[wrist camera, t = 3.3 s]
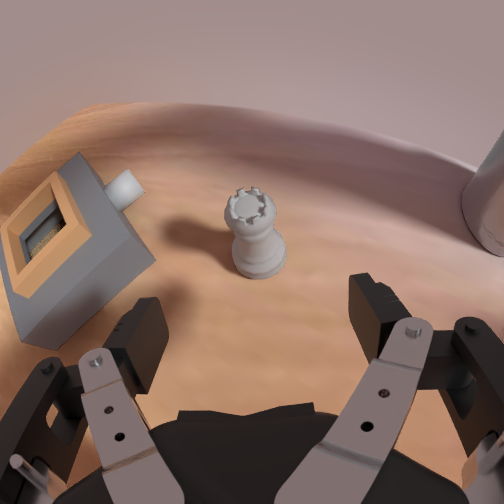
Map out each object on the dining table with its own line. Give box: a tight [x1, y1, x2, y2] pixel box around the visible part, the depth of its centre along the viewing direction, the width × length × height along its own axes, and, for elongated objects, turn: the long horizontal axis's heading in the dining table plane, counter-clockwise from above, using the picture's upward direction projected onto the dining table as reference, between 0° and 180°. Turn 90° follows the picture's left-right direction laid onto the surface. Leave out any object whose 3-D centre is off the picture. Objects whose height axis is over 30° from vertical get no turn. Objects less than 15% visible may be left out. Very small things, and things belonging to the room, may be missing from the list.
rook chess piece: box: [224, 187, 287, 279], centre depth 21 cm, size 4×4×8 cm
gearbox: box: [0, 152, 156, 351], centre depth 24 cm, size 17×14×7 cm
